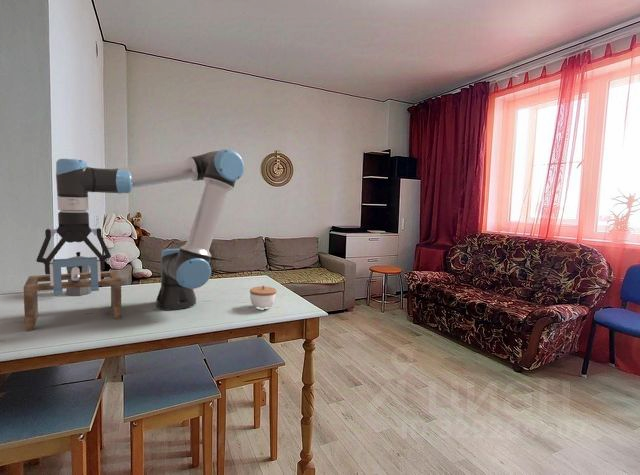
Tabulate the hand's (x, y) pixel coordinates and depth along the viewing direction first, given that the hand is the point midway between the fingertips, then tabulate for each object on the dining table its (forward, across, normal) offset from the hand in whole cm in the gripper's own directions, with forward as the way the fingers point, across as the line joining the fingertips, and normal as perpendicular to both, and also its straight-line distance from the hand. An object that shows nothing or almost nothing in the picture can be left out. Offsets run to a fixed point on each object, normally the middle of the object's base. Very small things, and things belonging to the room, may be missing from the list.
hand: (76, 282), depth 106 cm
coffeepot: (+16, 0, +48) cm, 51 cm away
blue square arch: (+3, 0, 0) cm, 3 cm away
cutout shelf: (+16, -1, +16) cm, 23 cm away
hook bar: (+2, 0, +16) cm, 16 cm away
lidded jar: (+17, +62, -2) cm, 65 cm away
